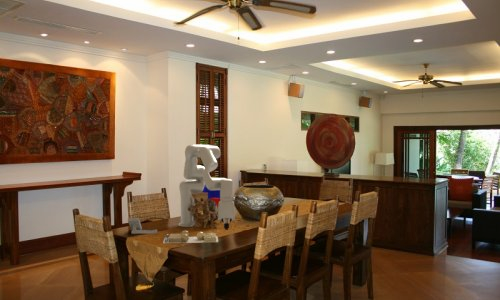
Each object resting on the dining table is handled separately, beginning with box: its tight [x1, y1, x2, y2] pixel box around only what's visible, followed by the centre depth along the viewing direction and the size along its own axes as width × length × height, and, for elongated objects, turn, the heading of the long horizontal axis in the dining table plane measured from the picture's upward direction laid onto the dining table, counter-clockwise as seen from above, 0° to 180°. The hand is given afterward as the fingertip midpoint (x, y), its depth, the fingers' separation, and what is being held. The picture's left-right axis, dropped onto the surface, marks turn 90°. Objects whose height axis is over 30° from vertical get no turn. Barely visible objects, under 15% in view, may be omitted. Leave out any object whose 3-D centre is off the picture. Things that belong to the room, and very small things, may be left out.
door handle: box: [127, 217, 158, 235], centre depth 270 cm, size 18×8×20 cm
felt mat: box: [162, 235, 219, 244], centre depth 252 cm, size 15×32×1 cm, turn 97°
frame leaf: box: [168, 229, 190, 244], centre depth 251 cm, size 12×11×4 cm
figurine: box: [199, 176, 220, 215], centre depth 338 cm, size 22×22×30 cm
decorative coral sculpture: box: [188, 197, 223, 229], centre depth 297 cm, size 26×23×30 cm
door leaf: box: [196, 231, 217, 243], centre depth 254 cm, size 12×11×4 cm
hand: (226, 229), depth 255 cm, fingers closed
